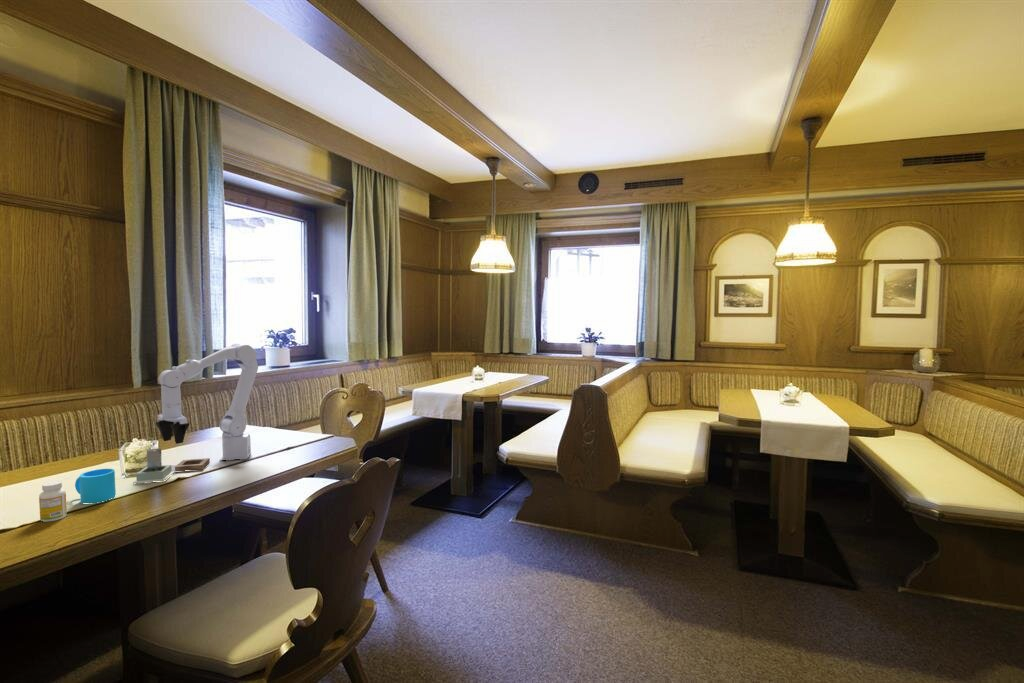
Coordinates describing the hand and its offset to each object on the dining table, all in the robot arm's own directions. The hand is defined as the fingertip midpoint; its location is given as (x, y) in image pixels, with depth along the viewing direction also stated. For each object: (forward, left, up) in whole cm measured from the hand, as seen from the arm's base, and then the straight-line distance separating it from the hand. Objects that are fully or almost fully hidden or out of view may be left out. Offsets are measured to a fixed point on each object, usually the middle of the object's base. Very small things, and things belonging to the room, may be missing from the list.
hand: (173, 441), depth 178 cm
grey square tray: (+3, +9, -10) cm, 14 cm away
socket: (-5, -1, -10) cm, 12 cm away
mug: (+14, +25, -11) cm, 30 cm away
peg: (+3, +9, -9) cm, 13 cm away
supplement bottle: (+17, +39, -11) cm, 44 cm away
